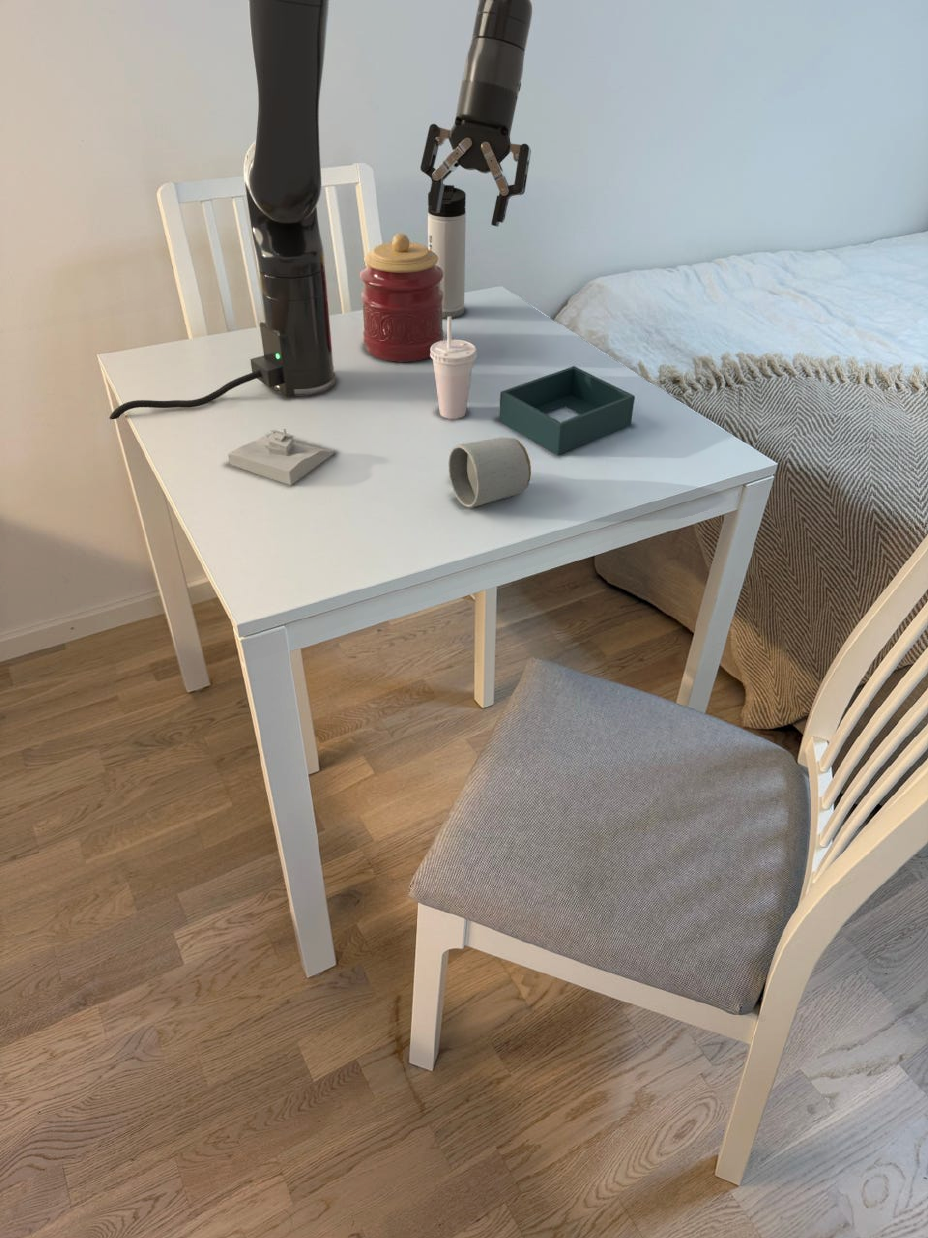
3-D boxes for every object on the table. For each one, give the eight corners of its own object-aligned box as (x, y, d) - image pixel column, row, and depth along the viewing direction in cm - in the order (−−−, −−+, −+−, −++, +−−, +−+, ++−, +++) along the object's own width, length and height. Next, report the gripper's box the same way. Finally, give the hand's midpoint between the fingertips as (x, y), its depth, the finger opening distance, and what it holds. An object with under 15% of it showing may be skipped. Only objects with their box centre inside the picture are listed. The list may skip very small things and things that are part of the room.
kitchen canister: (409, 324, 152) (406, 216, 140) (459, 348, 144) (461, 235, 133) (348, 344, 145) (340, 232, 133) (398, 370, 138) (394, 254, 126)
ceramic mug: (533, 501, 109) (537, 446, 105) (476, 519, 106) (477, 462, 101) (489, 464, 116) (491, 410, 112) (434, 479, 113) (434, 425, 108)
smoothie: (429, 403, 129) (428, 308, 120) (472, 402, 130) (475, 307, 121) (431, 423, 125) (431, 326, 116) (477, 422, 125) (479, 326, 116)
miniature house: (339, 445, 119) (337, 420, 117) (308, 487, 111) (305, 461, 109) (257, 433, 122) (253, 408, 119) (220, 474, 113) (216, 448, 111)
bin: (557, 455, 118) (560, 425, 115) (498, 420, 126) (500, 391, 123) (630, 425, 125) (635, 395, 122) (571, 394, 132) (573, 365, 130)
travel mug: (465, 305, 159) (468, 185, 146) (462, 319, 154) (464, 196, 141) (431, 303, 159) (430, 183, 146) (426, 317, 154) (425, 194, 141)
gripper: (432, 68, 113) (408, 205, 119) (540, 90, 111) (511, 228, 117) (444, 80, 119) (422, 210, 126) (546, 102, 118) (518, 231, 124)
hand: (465, 218), depth 121 cm, fingers open, 8 cm apart
